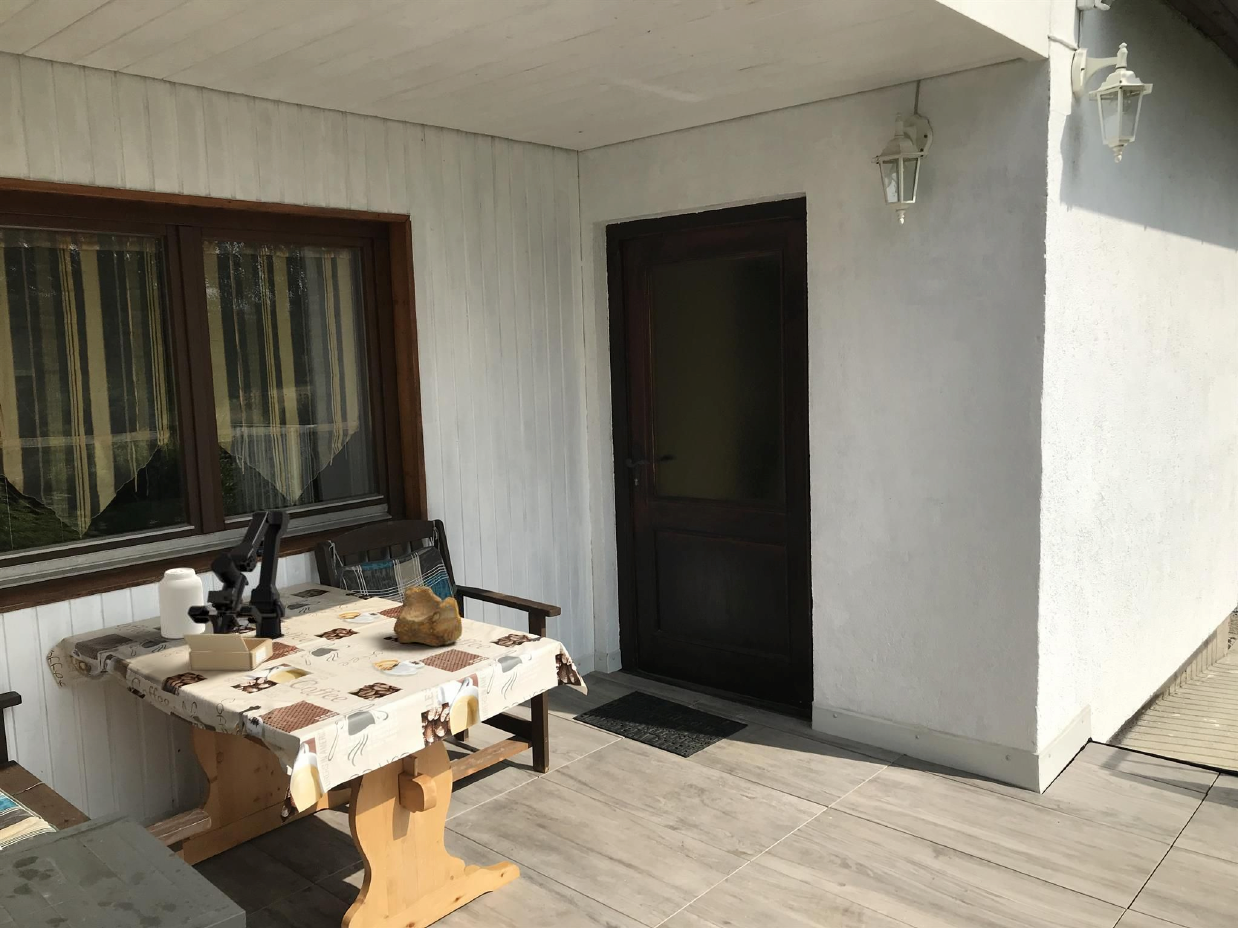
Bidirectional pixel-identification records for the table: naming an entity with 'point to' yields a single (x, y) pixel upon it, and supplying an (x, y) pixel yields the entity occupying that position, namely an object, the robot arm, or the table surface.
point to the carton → (233, 657)
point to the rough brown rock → (427, 618)
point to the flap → (216, 642)
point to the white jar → (179, 602)
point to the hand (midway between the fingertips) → (216, 642)
